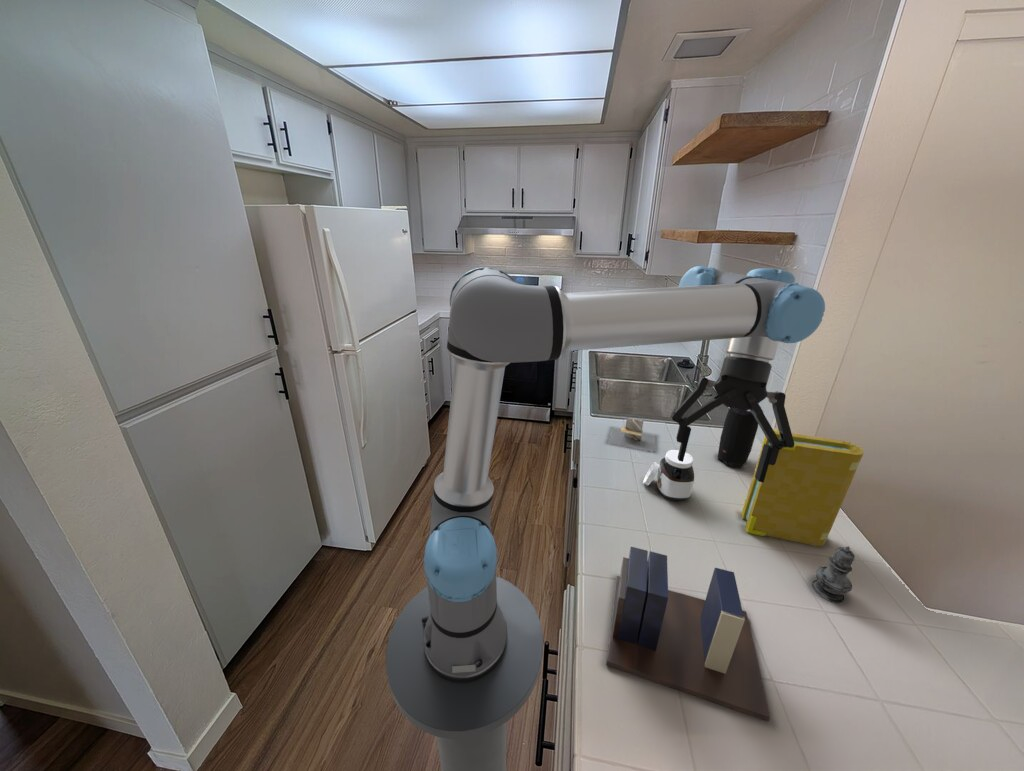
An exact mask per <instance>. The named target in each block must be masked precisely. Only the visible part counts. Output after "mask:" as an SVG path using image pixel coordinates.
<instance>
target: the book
mask: <svg viewBox="0 0 1024 771" xmlns="http://www.w3.org/2000/svg"><path fill="white" fill-rule="evenodd" d="M773 430H774V432H775V434H776V436H777V437H778V439H781V437H780V433H779V430H778V429H777V430H776V429H773ZM792 437H793V440H794V447H792V448H789V447H785V448H782V449H780V450H779V453H778V457H777V460H776V463H775V464H774V465H769V466H768V469H767V473H766V476H765V479H764V483H762V482H759V481H758V480H757V479H756V478H755V474H756V471H757V467H758V464H759V460H760V457H761V453H762V450H763V446H764V444H767V445H769V446H770V443H769V441H768V439H767V438H766V436H765V435H764V437H763V440H762V444H761V450H760V453H759V456H758V459H757V463H756V466H755V469H754V472H753V475H752V479H751V483H750V486H749V488H748V493H747V495H746V498H745V499H744V503H743V507H742V510H741V513H740V515H741V516H740V517H741V519H742V520H745V521H746V523H745V526H744V527H745V531H746V533H747V534H752V535H757V536H760V537H766V536H767V537H772V538H776V539H782V540H787V541H790V542H795V543H800V544H805V545H809V546H814V547H822V546H824V545H825V544H826V542H827V540H828V538H829V535H830V532H831V531H832V528H833V525H834V524H835V521H836V518H837V517H838V514H839V511H840V509H841V507H842V505H843V502H844V500H845V498H846V495H847V493H848V491H849V488H850V486H851V483H852V481H853V479H854V476H855V474H856V472H857V470H858V468H859V465H860V463H861V460H862V458H863V456H864V454H865V451H864V449H863V448H862V447H860V446H858V445H857V444H856V443H855V444H854V443H852V442H850V441H845V440H840V439H834V438H827V437H826V438H825V437H820V436H819V437H818V436H813V435H805V434H798V433H792Z"/></svg>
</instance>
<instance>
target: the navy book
mask: <svg viewBox="0 0 1024 771" xmlns="http://www.w3.org/2000/svg"><path fill="white" fill-rule="evenodd" d="M704 600H705V603H704V607H703V610H702V614H701V617H700V622H701V631H702V641H703V650H704V660H705V667H706V668H709V669H712V670H715V671H718V672H721V673H724V674H726V671H727V668H728V666H729V663H730V660H731V657H732V654H733V652H734V649H735V646H736V643H737V640H738V638H739V635H740V632H741V629H742V627H743V624H744V621H745V619H744V616H743V611H744V610H743V608H742V602H741V598H740V593H739V590H738V584H737V580H736V574H735V572H734V571H732V570H727V569H723V568H719V567H714V569H713V573H712V576H711V578H710V583H709V586H708V589H707V593H706V597H705V599H704Z"/></svg>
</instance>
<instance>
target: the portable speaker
mask: <svg viewBox="0 0 1024 771" xmlns="http://www.w3.org/2000/svg"><path fill="white" fill-rule="evenodd" d="M724 419H725V420H724V423H723V427H722V431H721V434H720V439H719V445H718V452H717V460H719V461H722V462H724V463H725V464H726V465H727V467H729V468H733V469H741V468H743V467H744V465H746V463H747V462H748V459H749V456H750V454H751V452H752V449H753V445H754V442H755V438H756V435H757V433H758V429H759V424H758V422H757V421H756V419H755V417H754V415H753V414H752V413H751V411H750V410H746V411H744V410H740V409H738V408H730V407H728V411H727V414H726V416H725V418H724Z"/></svg>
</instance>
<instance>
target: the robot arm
mask: <svg viewBox="0 0 1024 771" xmlns="http://www.w3.org/2000/svg"><path fill="white" fill-rule="evenodd" d="M451 288H452V289H451V291H450V295H449V307H450V311H449V321H448V329H447V330H448V331H447V340H446V341H447V342H446V351H447V353H449V355H450V356H451V357H452V358H453V359H454V364H453V375H452V384H451V394H450V395H451V396H450V403H449V404H450V405H449V411H448V412H449V413H448V422H447V433H446V442H445V451H444V461H443V462H444V464H443V471H442V472H440V474H438V475H437V476H436V478H435V479H434V484H433V490H432V491H433V492H432V496H431V500H430V524H429V537H428V539H427V541H426V544H425V549H424V556H423V569H424V573H425V577H426V584H427V586H428V594H429V603H430V611H431V612H430V615H429V617H426V618H423V619H422V623H424V622H427V623H426V626H425V630H424V636H423V643H424V651H425V656H426V659H427V661H428V664H429V665H430V667H431V668H432V669H433V671H434V672H435V673H436V674H438V675H439V676H440V677H442V678H444V679H446V680H449V681H452V682H459V683H464V682H470V681H474V680H477V679H479V678H482V677H483V676H485V675H487V674H488V673H489V672H490V671H492V670H493V669H494V668H495V667H496V665H497V664H498V663H499V661H500V660H501V658H502V656H503V654H504V652H505V649H506V644H507V623H506V619H505V616H504V614H503V612H502V610H501V609H500V607H499V605H498V603H497V580H496V576H497V567H498V549H497V544H496V541H495V538H494V535H493V533H492V524H491V510H492V504H493V499H494V498H493V497H494V491H495V487H494V483H493V481H492V479H491V478H490V477H489V474H490V473H489V472H490V466H491V461H492V460H491V459H492V454H493V447H494V441H495V435H496V434H495V433H496V427H497V423H498V422H497V421H498V415H499V409H500V402H501V396H502V389H503V382H504V376H505V370H506V366H509V364H511V363H513V364H514V363H515V364H516V363H531V362H532V363H533V362H534V363H535V362H545V361H556V360H561V359H562V358H563V356H565V354H566V353H567V352H575V351H587V350H599V349H600V350H601V349H610V348H612V349H613V348H625V347H637V346H650V345H662V344H677V343H689V342H701V341H703V342H704V341H714V340H727V339H728V343H727V347H726V353H727V354H728V356H725V357H724V359H723V362H722V366H721V370H720V374H719V377H718V379H717V380H716V381H715V380H712V379H709V378H707V377H705V376H701V377H700V378H699V380H698V382H697V384H696V387H695V388H694V390H693V391H691V393H690V394H688V396H687V397H686V398H685V399H684V400H683V401H682V403H680V405H679V406H678V407H677V408H676V409H675V410H674V412H672V414H671V420H672V421H673V422H675V423H677V424H678V429H677V433H676V437H675V438H676V442H677V443H680V446H679V449H678V450H679V453H678V460H679V461H682V462H683V459H684V456H685V452H686V453H687V447H688V445H689V444H688V443H689V440H690V436H691V431H692V428H691V426H690V425H691V424H692V423H694V422H697V420H699V419H701V418H702V417H703V416H705V415H706V414H708V413H709V412H711V411H712V410H714V409H715V408H718V407H719V406H722V405H723V406H725V407H726V408H738V409H740V410H744V411H746V410H750V411H751V413H752V414H753V415H754V417H755V419H756V421H757V422H758V427H759V428H760V429H761V431H762V433H763V434H764V437H765V436H766V438H767V439H768V441H769V443H770V446H769V445H767V444H764V446H763V450H762V453H761V452H760V453H761V457H760V460H759V464H758V467H757V471H756V474H755V478H756V479H757V480H758V481H759V482H762V483H764V479H765V476H766V473H767V469H768V466H769V465H774V464H775V463H776V460H777V457H778V453H779V450H780V449H782V448H785V447H789V448H792V447H794V440H793V437H792V434H793V433H792V428H791V425H790V422H789V419H788V414H787V410H786V408H785V407H786V406H785V404H786V398H787V397H786V393H784V392H782V391H778V390H777V391H768V390H767V385H768V382H769V378H770V375H771V371H772V367H773V365H772V363H770V361H773V360H775V357H776V354H777V350H778V345H779V343H782V344H783V343H784V344H797V343H799V342H801V341H803V340H806V339H807V338H809V337H810V336H811V335H813V334H814V332H816V330H817V329H818V328H819V327H820V325H821V323H822V322H823V317H824V315H825V314H824V313H825V312H826V302H825V300H824V297H823V295H822V294H821V293H820V292H819V291H818V290H817V289H815V288H813V287H809V286H805V285H801V284H799V283H798V282H796V279H795V275H794V274H793V273H792V272H790V271H788V270H784V269H775V268H771V267H770V268H767V267H766V268H763V267H762V268H754V269H751V270H749V271H748V272H747V273H746V274H741V273H736V272H730V271H725V270H721V269H717V268H715V267H712V266H711V267H708V266H703V265H696V266H693V267H691V268H689V269H688V270H687V271H686V272H685V273H684V275H683V276H682V277H681V279H680V281H679V284H678V286H671V287H652V288H635V289H634V288H633V289H617V290H615V289H614V290H599V291H598V290H597V291H580V292H564V291H563V290H562V289H560V287H558V286H557V285H545V286H544V285H542V286H541V285H538V286H537V285H528V284H522V283H517V282H516V281H515V279H513V277H512V276H511V275H509V274H508V273H507V272H505V271H503V270H501V269H497V268H494V267H484V266H483V267H477V268H474V269H471V270H469V271H467V272H465V273H463V274H462V275H461V277H459V278H458V279H457V280H456V281H455V283H454V284H453V286H452V287H451ZM711 388H714V390H715V393H716V394H717V395H715V396H714V397H711V398H710V399H709V400H708V401H707V402H705V403H704V404H702V405H701V406H699V407H698V408H696V409H694V410H692V412H690V413H689V414H687V415H685V413H687V411H688V410H689V409H690V408H691V407H692V406H693V405H694V404H695V402H697V401H698V399H699V398H700V397H701V396H702V395H703V394H704V393H705V392H706V391H709V390H710V389H711ZM766 398H767V400H768V402H769V404H771V406H772V411H773V414H774V418H775V422H776V427H777V431H779V433H780V437H781V439H778V437H777V436H776V434H775V432H774V430H775V429H774V428H773V427H772V425H771V424H770V422H769V420H768V418H767V416H766V415H765V413H764V410H763V409H762V406H761V405H760V404H759V403H761V402H763V401H764V400H766ZM684 415H685V416H684ZM683 416H684V417H683Z"/></svg>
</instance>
